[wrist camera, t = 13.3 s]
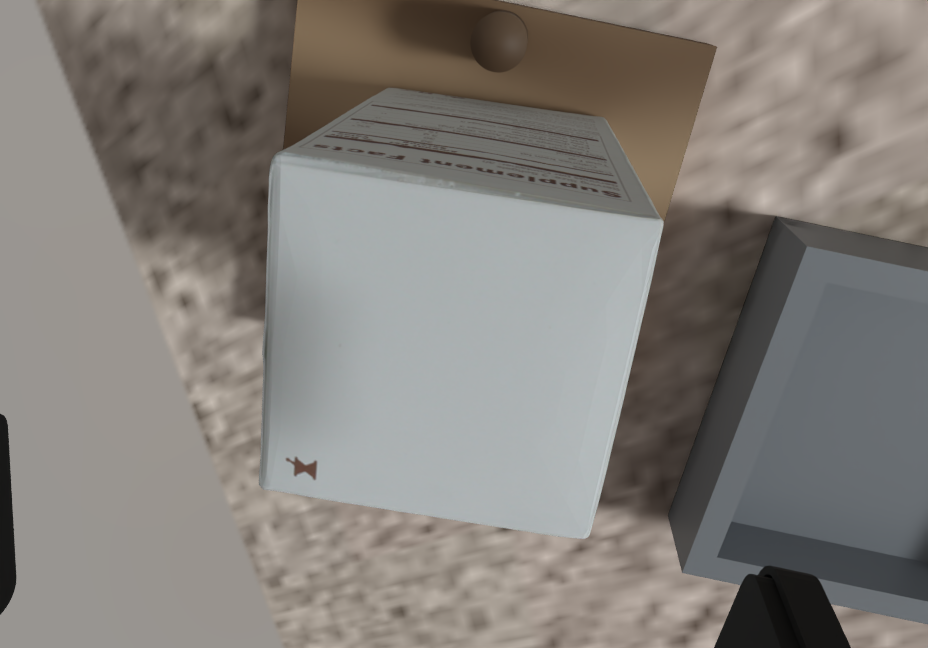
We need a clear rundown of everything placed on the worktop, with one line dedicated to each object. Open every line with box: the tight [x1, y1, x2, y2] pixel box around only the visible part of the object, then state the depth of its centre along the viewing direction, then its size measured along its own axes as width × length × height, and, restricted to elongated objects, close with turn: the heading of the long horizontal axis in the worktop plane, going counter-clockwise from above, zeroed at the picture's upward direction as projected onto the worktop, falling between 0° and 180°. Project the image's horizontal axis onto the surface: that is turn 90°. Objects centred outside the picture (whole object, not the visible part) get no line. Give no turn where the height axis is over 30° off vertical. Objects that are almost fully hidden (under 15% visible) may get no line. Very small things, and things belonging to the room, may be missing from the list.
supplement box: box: [259, 88, 664, 539], centre depth 21 cm, size 7×7×13 cm
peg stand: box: [283, 0, 717, 224], centre depth 26 cm, size 13×13×4 cm
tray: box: [668, 216, 928, 624], centre depth 29 cm, size 13×13×4 cm
